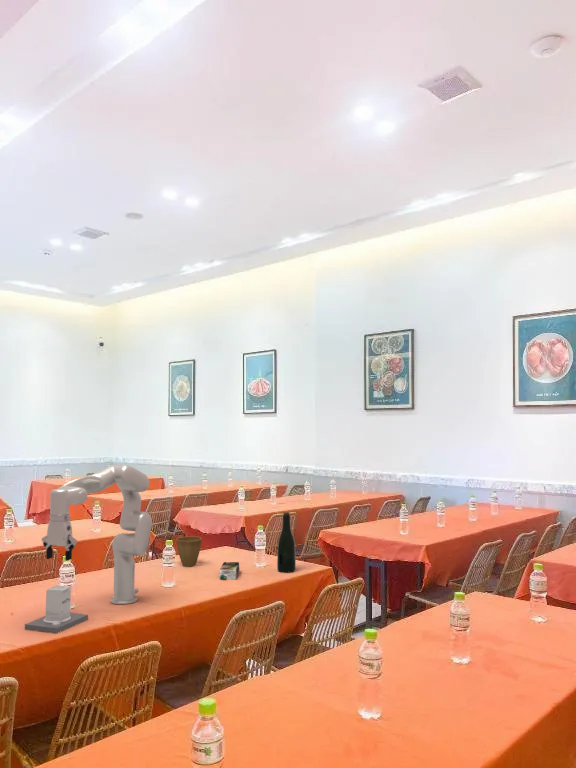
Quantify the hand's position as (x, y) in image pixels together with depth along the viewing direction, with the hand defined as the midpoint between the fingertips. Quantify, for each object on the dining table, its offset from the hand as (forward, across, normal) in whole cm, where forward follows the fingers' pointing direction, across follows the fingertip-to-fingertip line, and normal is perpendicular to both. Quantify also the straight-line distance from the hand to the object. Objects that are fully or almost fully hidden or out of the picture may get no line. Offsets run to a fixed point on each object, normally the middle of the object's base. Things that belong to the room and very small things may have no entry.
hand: (58, 559), depth 275 cm
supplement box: (+25, 0, 0) cm, 25 cm away
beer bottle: (+28, -57, -126) cm, 141 cm away
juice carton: (+29, -31, -104) cm, 112 cm away
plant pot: (+28, +2, -118) cm, 122 cm away
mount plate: (+27, 0, 0) cm, 27 cm away
